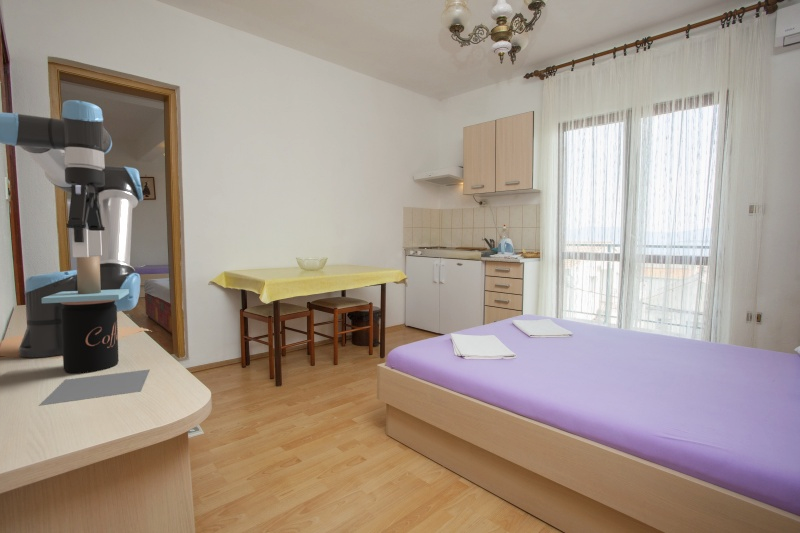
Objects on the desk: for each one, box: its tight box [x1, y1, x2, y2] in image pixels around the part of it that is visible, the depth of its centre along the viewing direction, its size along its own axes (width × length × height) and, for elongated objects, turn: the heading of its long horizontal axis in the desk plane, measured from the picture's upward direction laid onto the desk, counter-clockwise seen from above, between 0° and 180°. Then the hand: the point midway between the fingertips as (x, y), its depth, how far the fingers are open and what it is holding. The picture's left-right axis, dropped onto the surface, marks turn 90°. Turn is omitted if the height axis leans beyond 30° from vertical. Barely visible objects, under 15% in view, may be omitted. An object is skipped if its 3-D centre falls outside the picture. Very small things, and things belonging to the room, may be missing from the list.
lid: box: [42, 256, 129, 303], centre depth 95 cm, size 14×14×10 cm
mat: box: [38, 369, 151, 407], centre depth 83 cm, size 16×16×1 cm
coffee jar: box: [61, 300, 120, 375], centre depth 95 cm, size 11×11×18 cm
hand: (88, 256), depth 95 cm, fingers open, 13 cm apart
